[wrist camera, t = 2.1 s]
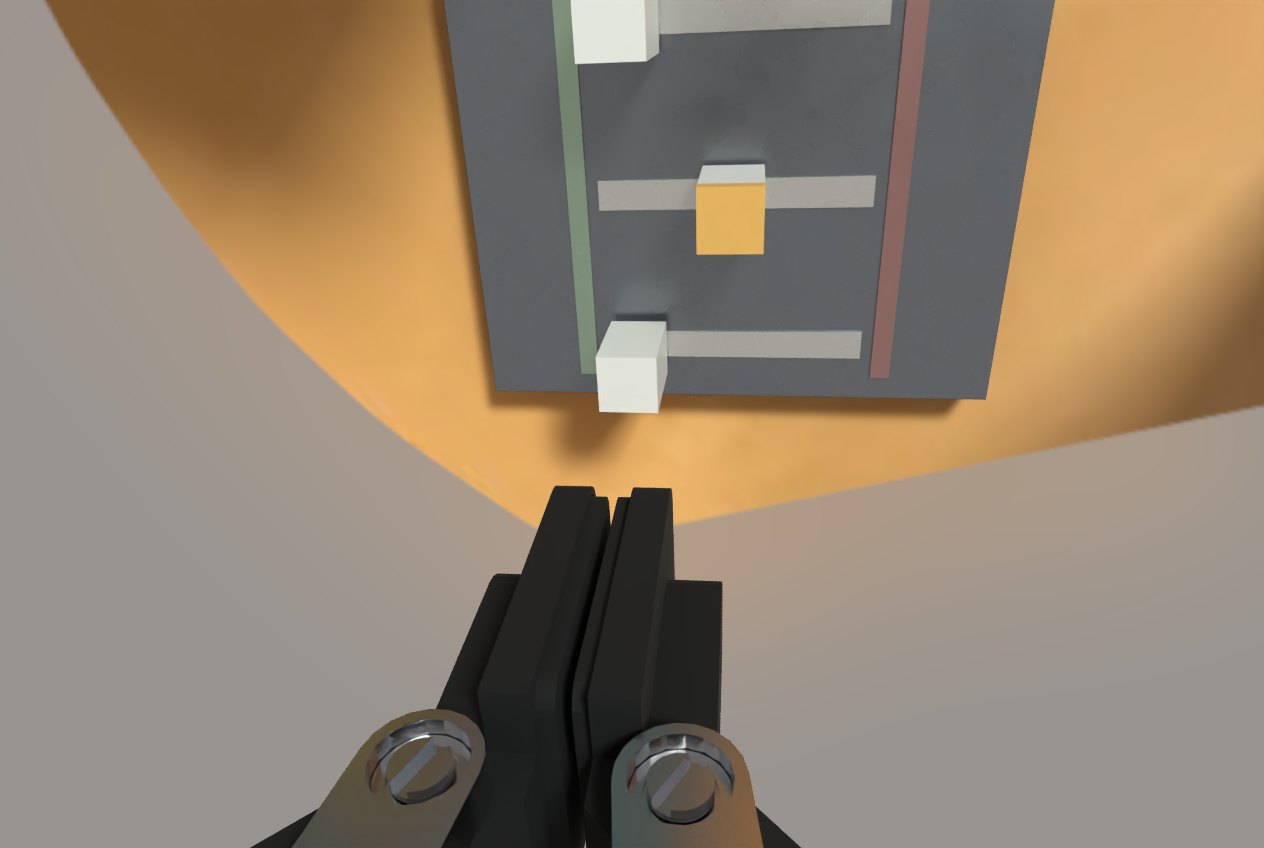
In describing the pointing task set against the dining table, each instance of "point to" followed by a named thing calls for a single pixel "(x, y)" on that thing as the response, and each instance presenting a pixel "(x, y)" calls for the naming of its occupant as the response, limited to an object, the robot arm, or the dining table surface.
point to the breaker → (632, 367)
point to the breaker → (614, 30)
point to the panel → (794, 195)
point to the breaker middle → (730, 209)
